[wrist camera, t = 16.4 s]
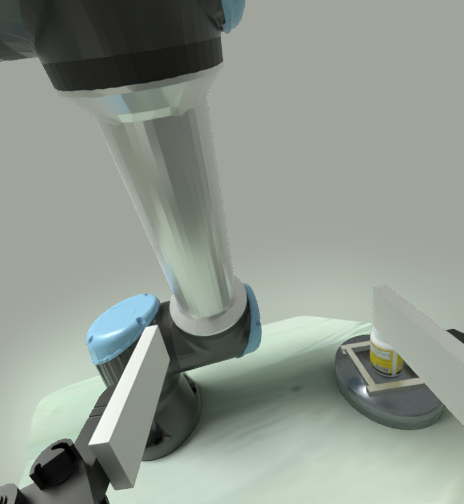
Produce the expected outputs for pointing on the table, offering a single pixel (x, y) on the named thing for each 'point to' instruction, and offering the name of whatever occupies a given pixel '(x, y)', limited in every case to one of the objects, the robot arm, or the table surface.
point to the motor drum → (384, 389)
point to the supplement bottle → (384, 356)
